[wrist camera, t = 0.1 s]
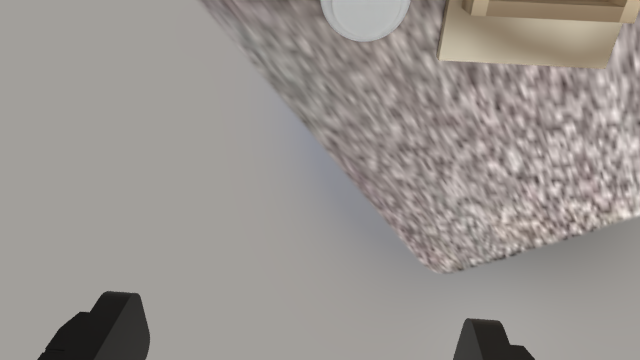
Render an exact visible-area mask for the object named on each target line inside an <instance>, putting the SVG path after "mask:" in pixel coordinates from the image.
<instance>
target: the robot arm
mask: <svg viewBox="0 0 640 360" xmlns="http://www.w3.org/2000/svg"><path fill="white" fill-rule="evenodd" d="M149 344H150V334H149V329H148V325H147V321H146V318H145V313H144V309H143V305H142V301H141V297H140V295H139V294H137V293H126V292H112V291H107V292H105V293H103V294H102V295H101V296H100V298H99V299H98V301H97V302H96V304H95V305H94V307H93V308H92V310H91V311H90V312H79V313H78V314H77V315H75V317H73V318H72V319H71V320H69V321H68V322H67V323H66V324H64V325H63V326H62V327H61V328H60V329H59V330H58V331H57V333H56V334H55V336H54V337H53V338H52V340H51V341H50V343H49V344H48V346H47V347H46V348H45V349H46V350H45V352H44V353H42V354H41V355H40V357H39V358H38V360H145V359H146V357H147V354H148V350H149ZM453 360H535V359H534V358H533V357H532V356H531V354H530V353H529V352H528V351H527V350H526V348H525V347H524V346H519V345H510V343H509V341H508V338H507V335H506V333H505V330H504V327H503V325H502V324H501V323H500V321H496V320H484V319H469V318H467V319H466V320H465V322H464V324H463V328H462V331H461V334H460V338H459V341H458V344H457V348H456V351H455V354H454V358H453Z"/></svg>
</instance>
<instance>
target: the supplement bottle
mask: <svg viewBox="0 0 640 360" xmlns="http://www.w3.org/2000/svg"><path fill="white" fill-rule="evenodd" d="M410 1H411V0H320V2H321V7H322V11H323V13H324V16H325V18H326V20H327V21H328V23H329V24H330V26H331V27H332V28H333V29H334V30H335V31H336V32H337V33H339V34H340V35H342V36H343V37H345V38H347V39H350V40H353V41H358V42H370V41H375V40H378V39H381V38H383V37H385V36H387V35H388V34H390V33H391V32H392V31H394V30H395V29H396V28H397V27H398V26H399V24H400V23H401V22H402V20H403V19H404V17H405V15H406V13H407V11H408V8H409V5H410Z"/></svg>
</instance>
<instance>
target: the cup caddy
mask: <svg viewBox="0 0 640 360" xmlns="http://www.w3.org/2000/svg"><path fill="white" fill-rule="evenodd" d="M639 9H640V0H446V5H445V11H444V17H443V23H442V28H441V34H440V40H439V46H438V51H437V58H438V60H444V61H463V62H482V63H502V64H521V65H540V66H559V67H578V68H597V69H605V68H606V65H607V63H608V60H609V57H610V55H611V52H612V50H613V47H614V44H615V42H616V39H617V36H618V34H619V31H620V28H621V26H622V23H634V22H635V19H636V17H637V14H638V12H639Z"/></svg>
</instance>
